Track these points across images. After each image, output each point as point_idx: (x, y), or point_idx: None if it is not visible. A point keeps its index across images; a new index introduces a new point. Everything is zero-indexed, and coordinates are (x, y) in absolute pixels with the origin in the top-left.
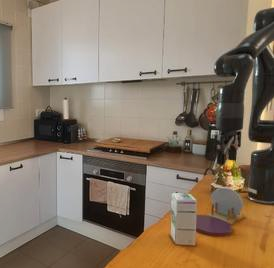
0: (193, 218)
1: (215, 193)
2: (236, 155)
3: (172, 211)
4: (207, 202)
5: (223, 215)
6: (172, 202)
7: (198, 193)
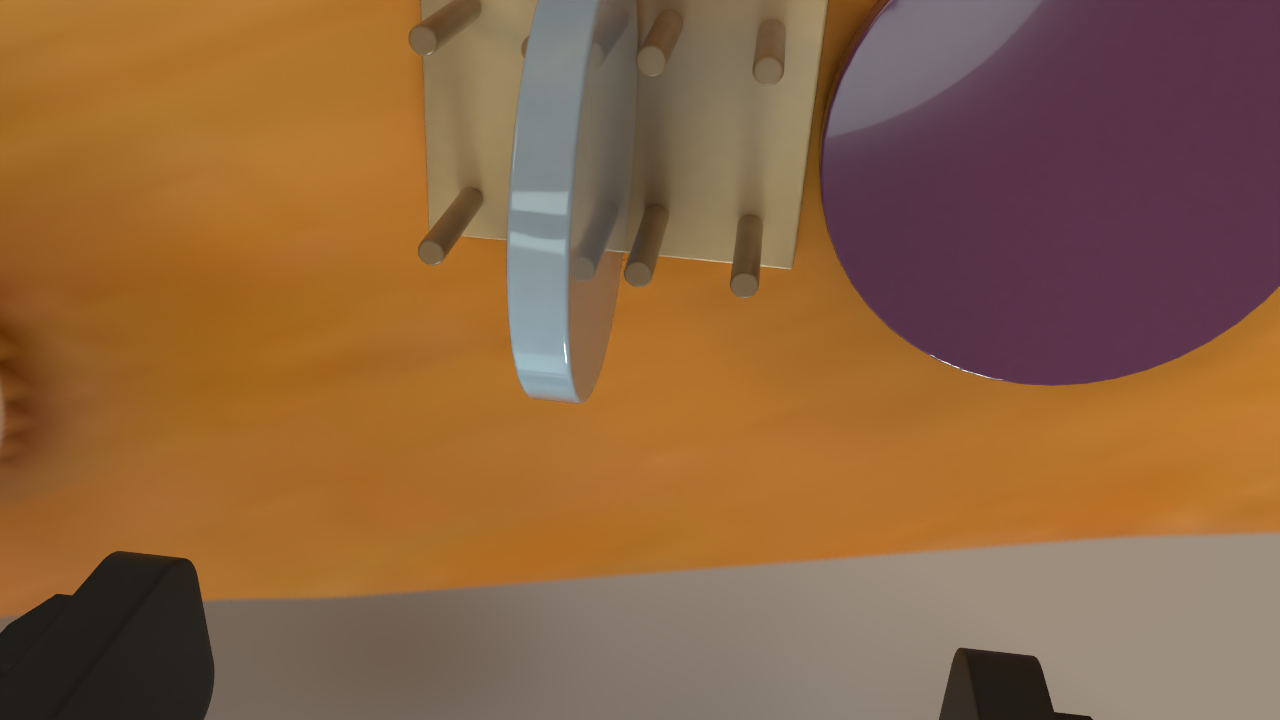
0: None
1: (586, 362)
2: (25, 656)
3: None
4: (332, 399)
5: (661, 126)
6: None
7: (154, 551)
